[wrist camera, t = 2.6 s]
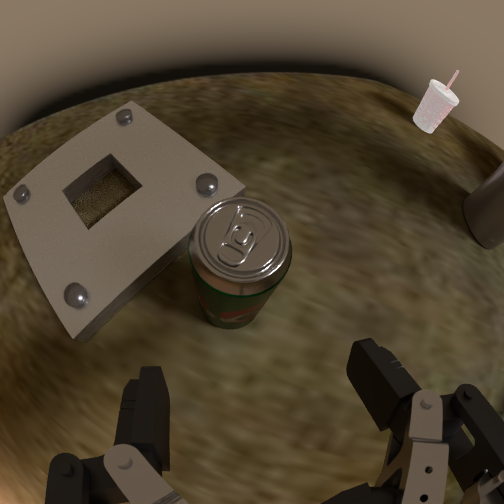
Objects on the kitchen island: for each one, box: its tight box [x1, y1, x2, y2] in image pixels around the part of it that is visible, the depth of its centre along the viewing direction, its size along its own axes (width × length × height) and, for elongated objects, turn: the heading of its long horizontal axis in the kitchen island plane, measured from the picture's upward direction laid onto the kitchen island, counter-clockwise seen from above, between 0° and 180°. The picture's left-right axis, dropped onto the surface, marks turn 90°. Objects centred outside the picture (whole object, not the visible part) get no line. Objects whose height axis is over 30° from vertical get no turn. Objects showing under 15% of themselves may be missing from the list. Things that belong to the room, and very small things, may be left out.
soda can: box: [188, 197, 292, 329], centre depth 18 cm, size 5×5×12 cm
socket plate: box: [3, 101, 246, 343], centre depth 24 cm, size 20×20×3 cm
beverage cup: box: [413, 70, 459, 133], centre depth 34 cm, size 6×6×14 cm
